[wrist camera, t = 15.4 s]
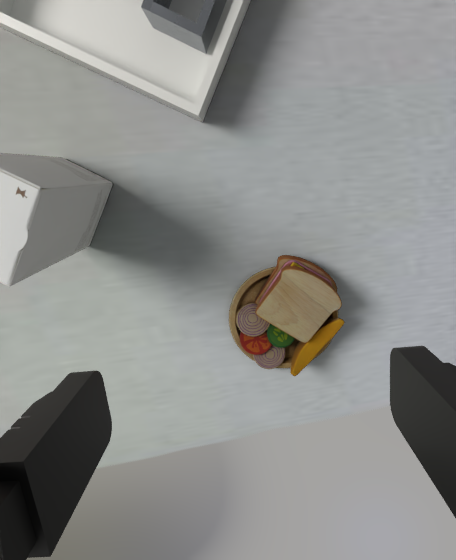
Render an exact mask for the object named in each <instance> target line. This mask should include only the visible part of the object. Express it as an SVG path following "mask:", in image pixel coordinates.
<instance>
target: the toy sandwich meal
mask: <svg viewBox="0 0 456 560" xmlns="http://www.w3.org/2000/svg"><path fill="white" fill-rule="evenodd" d="M341 305H342V302H341V299H340V297H339V295H338V294H337V286H336V284H335V282H334V280H333V279H332V278H331V277H330V275H329V274H328V273H326V272H325V271H324V270H323V269H322V268H320V267H319V266H317V265H315V264H314V263H312V262H310V261H307V260H305V259H302V258H299V257H295V256H290V255H282V256H280V257H278V260H277V266H276V267H272V268H268V269H265V270H263V271H260V272H258V273H256V274H255V275H253V276H252V277H250V278H249V279H248V280H246V281H245V282H244V283H243V284H242V285H241V287H240V288H239V289H238V291H237V292H236V294H235V296H234V298H233V300H232V303H231V306H230V311H229V325H230V330H231V333H232V336H233V339H234V340H235V342H236V344H237V345H238V347H239V348H240V349H241V351H242V352H243V353H244V354H245V355H247V356H248V357H249V358H251V359H252V360H254V361H255V362H256V363H257V364H258V365H259V366H260V367H262V368H265V369H273V368H291V374H292V375H293V376H296V375H297V374H298V373H300V371H301V370H302V369H303V368H305V367H306V366H307V365H308V364H309V363H310V362H311V361H312V360H313V359H314V358H316V357H317V356H318V355H320V354H321V353H322V352H323V351H324V350H325V349H326V348H327V346H328V345H329V343H330V342H331V340H332V338H333V336H334V335H335V334H336V333H337V332H338V331H339V329H340V328H341V327H342V326H343V324H344V321H343V320H342V319H340V318H338V309H340V308H341Z"/></svg>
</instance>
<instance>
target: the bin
mask: <svg viewBox="0 0 456 560" xmlns="http://www.w3.org/2000/svg"><path fill="white" fill-rule="evenodd" d="M204 1H205V0H172V1H171V4H170V7H169V10H171V11H173V12H175V13H177V14H179V15H181V16H184V17H186V18H188V19H190V20H192V21H194V22H196V23H197V20H198V17H199V15H200V12H201V9H202V7H203V4H204ZM250 2H251V0H227V1H226V4H225V6H224V9H223V12H222V14H221V17H220V19H219V22H218V25H217V27H216V30H215V32H214V35H213V38H212V40H211V43H210V45H209V48H208V51H207V53H206V54H205V53H203V52H201V51H199V50H197V49H195V48H193V47H191V46H189V45H187V44H185V43H183V42H181V41H178V40H176V39H174V38H172V37H170V36H168V35H166V34H164V33H162V32H160V31H158V30H156V29H154V28H153V27H152V25H151V24H150V22H149V20H148V18H147V17H146V15H145V13H144V11H143V10H142V8H141V6H142V3H143V0H0V27H2V28H3V29H5V30H7V31H9V32H11V33H13V34H16V35H18V36H20V37H22V38H24V39H26V40H28V41H30V42H33V43H35V44H37V45H39V46H41V47H43V48H45V49H47V50H49V51H52V52H54V53H56V54H58V55H60V56H62V57H64V58H66V59H69V60H71V61H73V62H75V63H77V64H79V65H81V66H83V67H86V68H88V69H90V70H92V71H94V72H96V73H98V74H100V75H103V76H105V77H107V78H109V79H111V80H113V81H115V82H117V83H120V84H122V85H124V86H126V87H128V88H130V89H132V90H134V91H137V92H139V93H141V94H143V95H145V96H147V97H149V98H151V99H154V100H156V101H158V102H160V103H162V104H164V105H166V106H168V107H170V108H173V109H175V110H177V111H179V112H181V113H183V114H185V115H187V116H190V117H192V118H194V119H196V120H198V121H200V122H202V123H203V120H204V118H205V115H206V113H207V110H208V108H209V105H210V103H211V100H212V98H213V95H214V93H215V90H216V88H217V85H218V83H219V80H220V78H221V75H222V73H223V70H224V67H225V65H226V62H227V60H228V57H229V55H230V52H231V50H232V47H233V45H234V42H235V40H236V37H237V35H238V32H239V30H240V27H241V25H242V22H243V20H244V17H245V14H246V12H247V9H248V7H249V4H250Z"/></svg>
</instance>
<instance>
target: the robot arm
mask: <svg viewBox="0 0 456 560" xmlns="http://www.w3.org/2000/svg"><path fill="white" fill-rule="evenodd" d="M390 406H391V411H392V415H393V418H394V421H395V423H396V425H397V427H398V428H399V430H400V431H401V433H402V435H403V436H404V438H405V439H406V441H407V442H408V444H409V446H410V447H411V449H412V450H413V452H414V453H415V455H416V457H417V458H418V460H419V461H420V463H421V464H422V466H423V468H424V469H425V471H426V472H427V474H428V475H429V477H430V478H431V480H432V482H433V483H434V485H435V486H436V488H437V489H438V491H439V492H440V494H441V496H442V497H443V498H444V500H445V502H446V504H447V505H448V507H449V508H450V510H451V511H452V513H453V514H454V516H455V518H456V366H454V365H452V364H450V363H443V362H441V361H440V360H439V359H438V358H437V357H436V356H435V355H434V354H433V353H431V352H430V351H429V350H428V349H427V348H426V347H424V346H414V347H401V348H393V349H392V351H391V355H390ZM111 431H112V421H111V415H110V410H109V406H108V401H107V396H106V391H105V387H104V382H103V378H102V375H101V373H100V372H99V371H87V372H74V373H70V374H68V375H67V376H66V377H65V379H64V380H63V381H62V382H61V383H60V384H59V385H58V386H57V387H56V388H55V390H54V391H53V392H50V393H48V394H47V395H45V396H44V397H42V398H41V399H39V400H38V401H36V402H35V403H33V404H32V405H31V406H30V407H29V409H28V410H27V411H26V412H25V413H24V414H23V415H22V416H21V419H18V420H17V421H16V422H15V423H14V424H13V425H12V426H11V430H8V431H7V432H6V433H5V434H4V435H3V436H2V437H1V438H0V560H26V559H27V558H28V557H29V558H30V557H50V556H51V555H52V553H53V551H54V549H55V547H56V545H57V543H58V541H59V539H60V537H61V535H62V533H63V531H64V529H65V527H66V525H67V523H68V521H69V519H70V518H71V516H72V514H73V512H74V510H75V508H76V506H77V504H78V502H79V500H80V498H81V496H82V494H83V492H84V490H85V488H86V486H87V485H88V483H89V480H90V478H91V477H92V475H93V473H94V471H95V469H96V467H97V465H98V463H99V461H100V459H101V457H102V455H103V453H104V451H105V449H106V448H107V446H108V443H109V441H110V437H111Z"/></svg>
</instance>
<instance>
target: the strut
mask: <svg viewBox="0 0 456 560" xmlns="http://www.w3.org/2000/svg"><path fill="white" fill-rule="evenodd" d="M171 1H172V0H143V3H142V6H141V8H142V10H143V11H144V13H145V15H146V17H147V18H148V20H149V22H150V24H151V25H152V27H153V28H154V29H156V30H158V31H160V32H162V33H164V34H166V35H168V36H170V37H172V38H174V39H176V40H178V41H181V42H183V43H185V44H187V45H189V46H191V47H193V48H195V49H197V50H199V51H201V52H203V53H205V54H206V53H207V51H208V48H209V45H210V43H211V40H212V38H213V35H214V32H215V30H216V27H217V25H218V22H219V19H220V17H221V14H222V12H223V9H224V6H225V4H226V1H227V0H205V1H204V4H203V7H202V9H201V12H200V15H199V17H198V20H197V23H196V22H194V21H192V20H190V19H188V18H186V17H184V16H181V15H179V14H177V13H175V12H173V11H171V10H169V7H170V4H171Z"/></svg>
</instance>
